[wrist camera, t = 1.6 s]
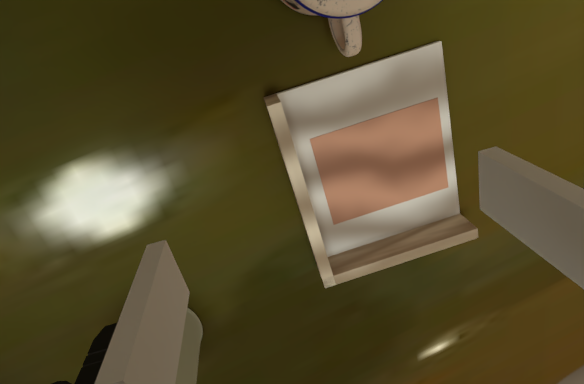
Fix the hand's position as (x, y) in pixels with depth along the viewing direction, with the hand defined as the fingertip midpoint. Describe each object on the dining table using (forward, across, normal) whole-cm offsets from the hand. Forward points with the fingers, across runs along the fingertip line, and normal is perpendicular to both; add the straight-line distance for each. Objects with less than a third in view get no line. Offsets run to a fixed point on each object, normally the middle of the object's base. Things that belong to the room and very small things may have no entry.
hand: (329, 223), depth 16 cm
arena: (+22, +8, -8) cm, 25 cm away
